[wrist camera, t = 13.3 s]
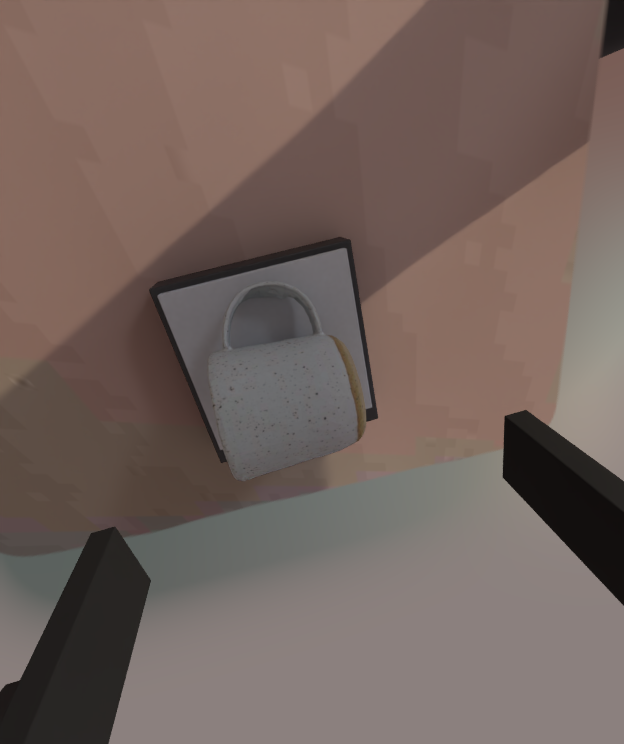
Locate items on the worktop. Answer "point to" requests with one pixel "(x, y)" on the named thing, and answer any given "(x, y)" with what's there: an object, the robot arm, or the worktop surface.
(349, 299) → the kitchen scale
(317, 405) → the ceramic mug
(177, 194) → the worktop surface
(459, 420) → the worktop surface
